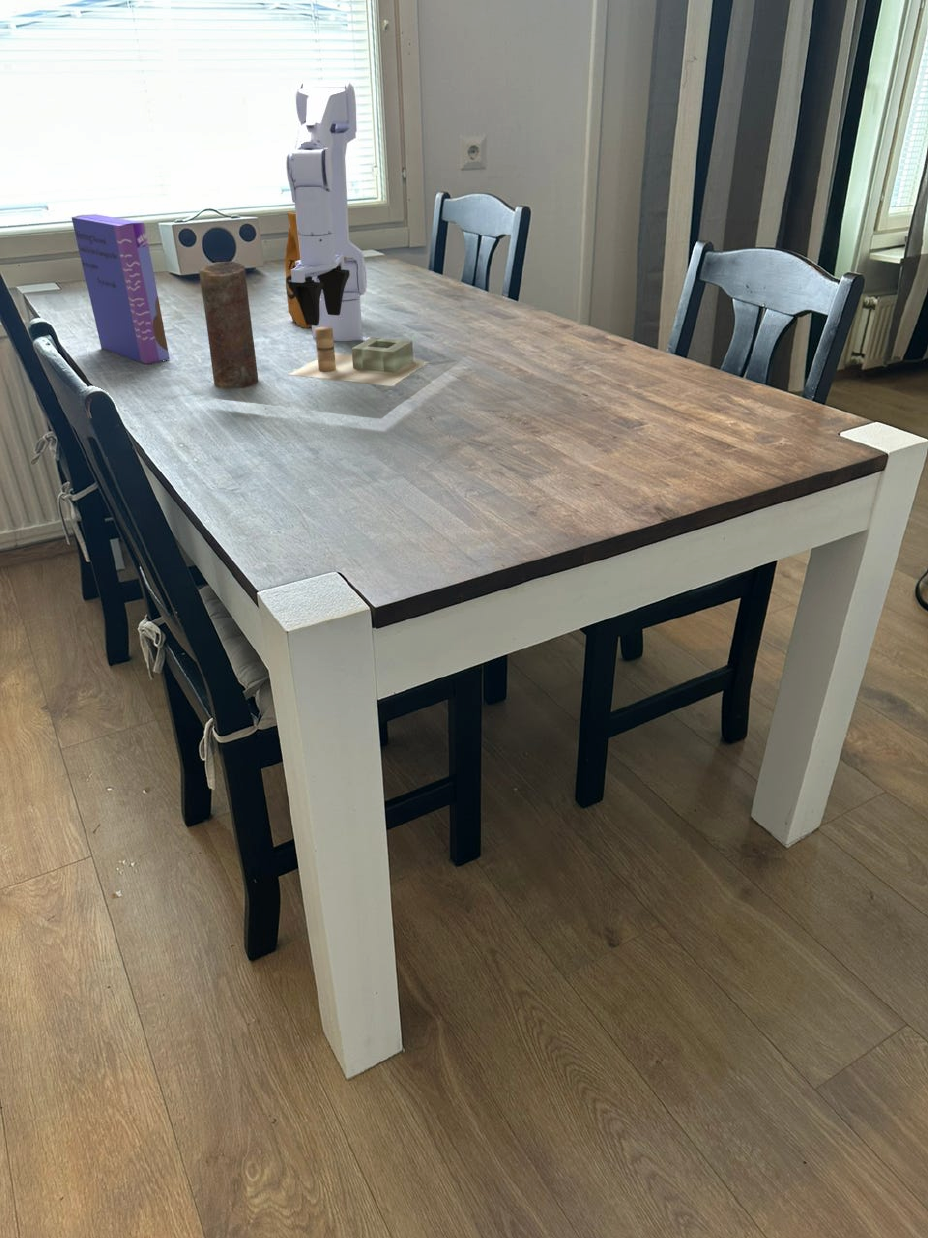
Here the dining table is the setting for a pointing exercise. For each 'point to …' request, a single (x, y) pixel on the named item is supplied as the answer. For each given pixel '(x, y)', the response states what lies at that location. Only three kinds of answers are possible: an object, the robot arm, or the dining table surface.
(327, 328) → the peg
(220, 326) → the brown faceted post
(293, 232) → the coffee package
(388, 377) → the board
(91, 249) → the cereal box
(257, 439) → the dining table surface
